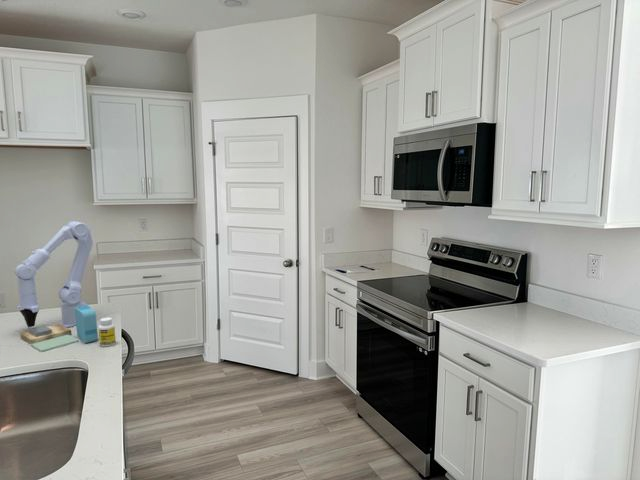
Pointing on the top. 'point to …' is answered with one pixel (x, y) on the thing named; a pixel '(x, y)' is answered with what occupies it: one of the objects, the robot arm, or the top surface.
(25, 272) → the robot arm
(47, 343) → the green mat
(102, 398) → the top surface
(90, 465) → the top surface
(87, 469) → the top surface
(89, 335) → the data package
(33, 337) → the oak board
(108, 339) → the supplement bottle
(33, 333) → the slate tile
